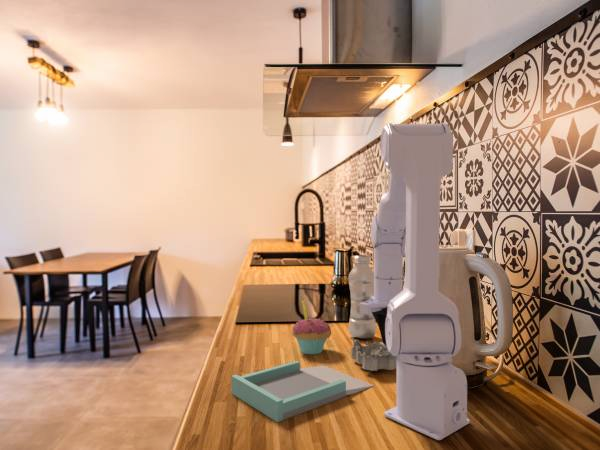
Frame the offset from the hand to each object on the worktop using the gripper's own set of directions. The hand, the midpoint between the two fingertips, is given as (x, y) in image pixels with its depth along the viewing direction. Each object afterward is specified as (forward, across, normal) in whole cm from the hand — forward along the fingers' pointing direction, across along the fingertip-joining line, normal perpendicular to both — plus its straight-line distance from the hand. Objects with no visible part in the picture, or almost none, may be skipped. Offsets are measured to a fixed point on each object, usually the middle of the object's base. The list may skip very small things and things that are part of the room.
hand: (388, 343), depth 88 cm
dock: (+3, +23, 0) cm, 23 cm away
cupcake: (+4, +8, -15) cm, 17 cm away
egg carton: (+4, +7, 0) cm, 8 cm away
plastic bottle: (+4, -8, -15) cm, 17 cm away
